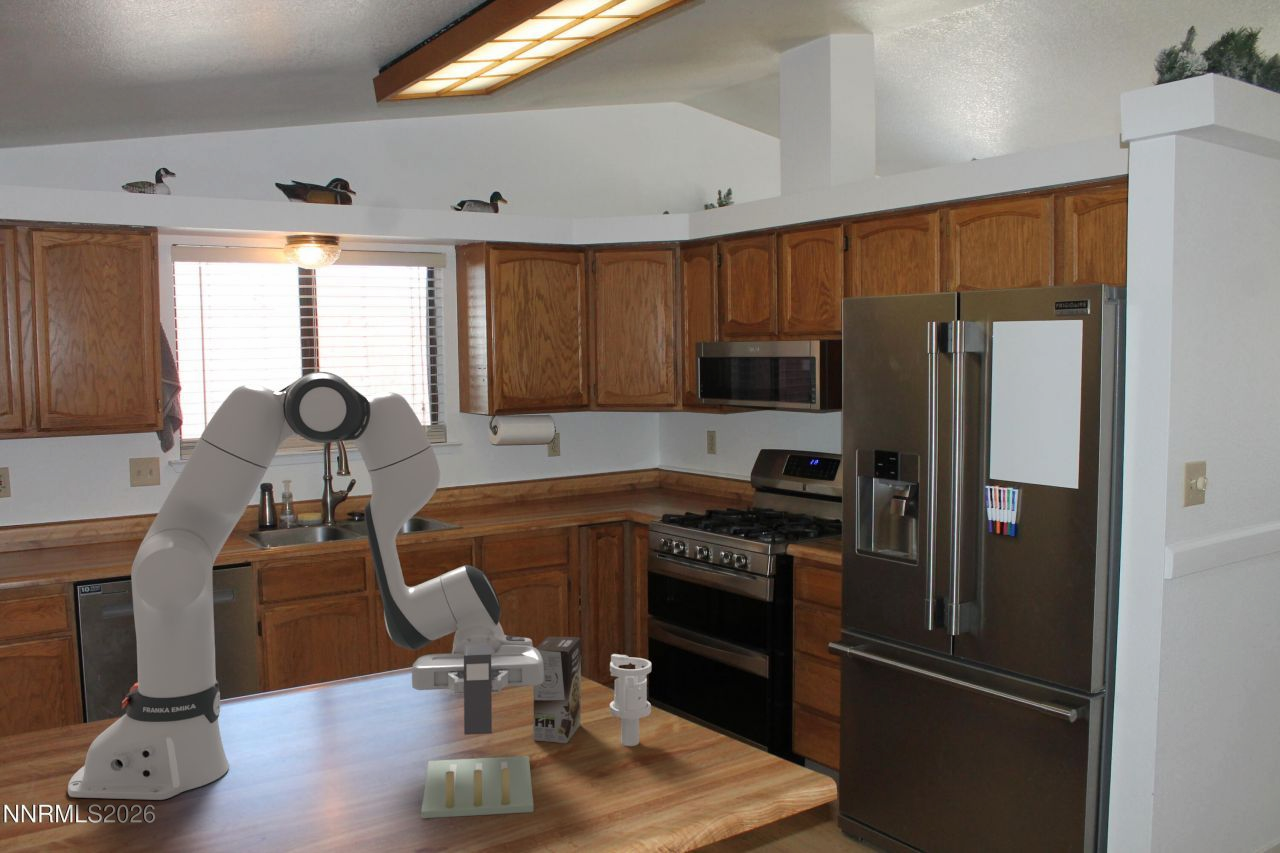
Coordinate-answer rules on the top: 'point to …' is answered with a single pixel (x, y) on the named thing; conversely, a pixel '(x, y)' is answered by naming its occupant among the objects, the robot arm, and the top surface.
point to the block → (477, 690)
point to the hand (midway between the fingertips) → (477, 687)
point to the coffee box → (558, 690)
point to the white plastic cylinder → (630, 695)
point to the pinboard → (477, 787)
